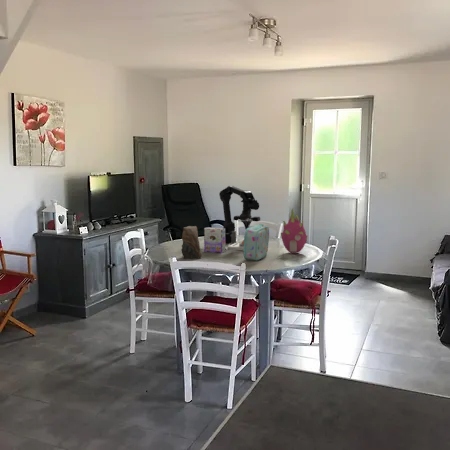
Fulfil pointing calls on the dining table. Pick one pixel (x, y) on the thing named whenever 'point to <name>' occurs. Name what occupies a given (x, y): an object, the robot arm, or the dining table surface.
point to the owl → (190, 243)
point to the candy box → (214, 240)
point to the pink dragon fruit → (294, 234)
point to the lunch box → (256, 242)
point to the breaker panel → (236, 246)
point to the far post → (233, 237)
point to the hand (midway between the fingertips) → (246, 230)
